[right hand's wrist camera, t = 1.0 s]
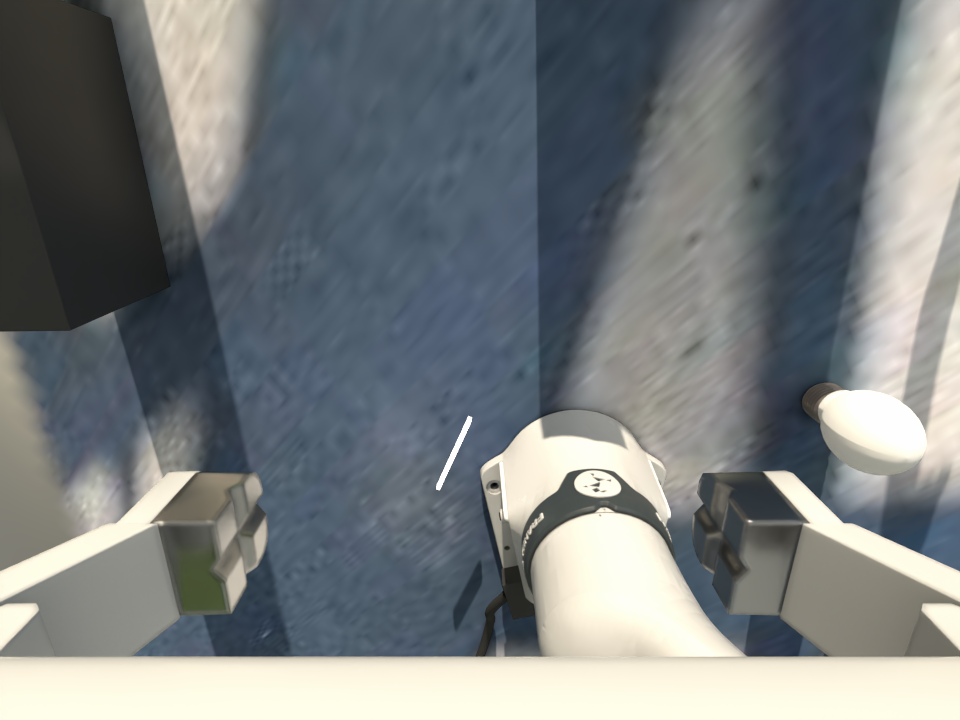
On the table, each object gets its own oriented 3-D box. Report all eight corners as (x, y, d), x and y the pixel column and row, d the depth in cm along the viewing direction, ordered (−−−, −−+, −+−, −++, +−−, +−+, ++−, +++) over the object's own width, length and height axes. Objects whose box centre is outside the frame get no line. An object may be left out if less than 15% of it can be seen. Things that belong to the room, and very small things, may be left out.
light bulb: (780, 426, 54) (851, 491, 44) (800, 363, 52) (879, 416, 41) (847, 431, 54) (933, 497, 44) (870, 368, 52) (966, 422, 42)
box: (170, 286, 49) (69, 330, 37) (106, 287, 49) (-16, 331, 37) (111, 17, 42) (-40, -36, 30) (35, 19, 42) (-146, -35, 30)
